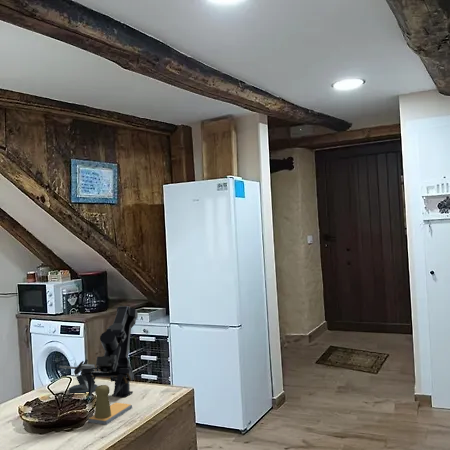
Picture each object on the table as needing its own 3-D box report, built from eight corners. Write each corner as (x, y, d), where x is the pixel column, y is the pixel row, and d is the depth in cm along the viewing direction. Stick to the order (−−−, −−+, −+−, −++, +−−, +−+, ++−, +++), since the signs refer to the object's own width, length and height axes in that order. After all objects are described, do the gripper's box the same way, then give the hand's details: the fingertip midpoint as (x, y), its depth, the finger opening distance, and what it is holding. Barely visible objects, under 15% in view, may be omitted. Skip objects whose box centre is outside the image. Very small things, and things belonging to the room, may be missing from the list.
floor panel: (114, 405, 203) (114, 402, 203) (132, 408, 200) (132, 404, 200) (88, 421, 187) (88, 418, 187) (106, 424, 184) (106, 420, 184)
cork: (93, 414, 191) (92, 384, 191) (109, 411, 193) (108, 382, 193) (96, 420, 185) (95, 389, 185) (112, 417, 188) (112, 386, 187)
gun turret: (66, 383, 234) (66, 355, 234) (105, 386, 228) (104, 357, 227) (49, 392, 222) (48, 362, 222) (88, 396, 216) (88, 365, 215)
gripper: (81, 346, 195) (70, 385, 184) (129, 346, 192) (121, 385, 182) (90, 361, 202) (79, 399, 192) (136, 361, 200) (128, 400, 189)
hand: (101, 395), depth 188 cm, fingers open, 9 cm apart
